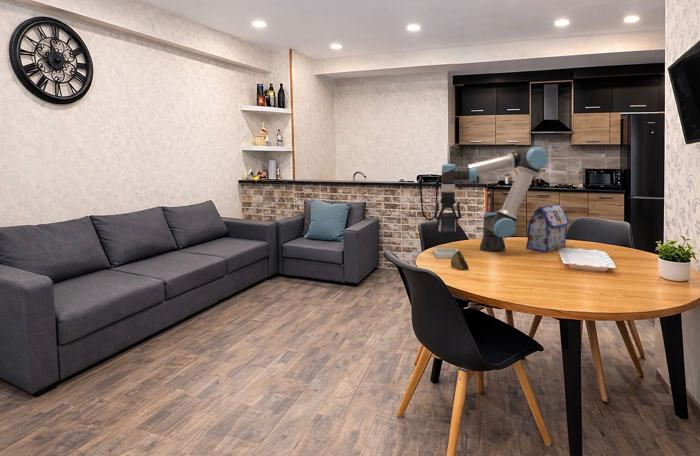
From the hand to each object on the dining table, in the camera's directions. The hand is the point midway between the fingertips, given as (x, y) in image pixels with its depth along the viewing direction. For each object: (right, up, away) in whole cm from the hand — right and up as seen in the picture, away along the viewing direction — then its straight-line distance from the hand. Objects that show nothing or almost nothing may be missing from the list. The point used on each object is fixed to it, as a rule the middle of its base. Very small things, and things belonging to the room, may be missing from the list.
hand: (447, 230), depth 262 cm
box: (0, 0, 0) cm, 1 cm away
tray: (0, -14, +2) cm, 15 cm away
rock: (+1, -19, -25) cm, 31 cm away
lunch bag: (+64, -11, +16) cm, 67 cm away
